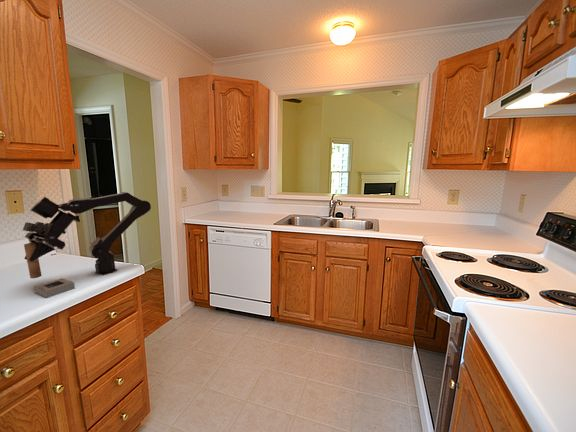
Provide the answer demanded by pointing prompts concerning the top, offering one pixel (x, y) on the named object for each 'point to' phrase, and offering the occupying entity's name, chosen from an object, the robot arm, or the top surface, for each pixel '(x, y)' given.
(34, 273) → the walnut pin
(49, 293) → the square hole frame
